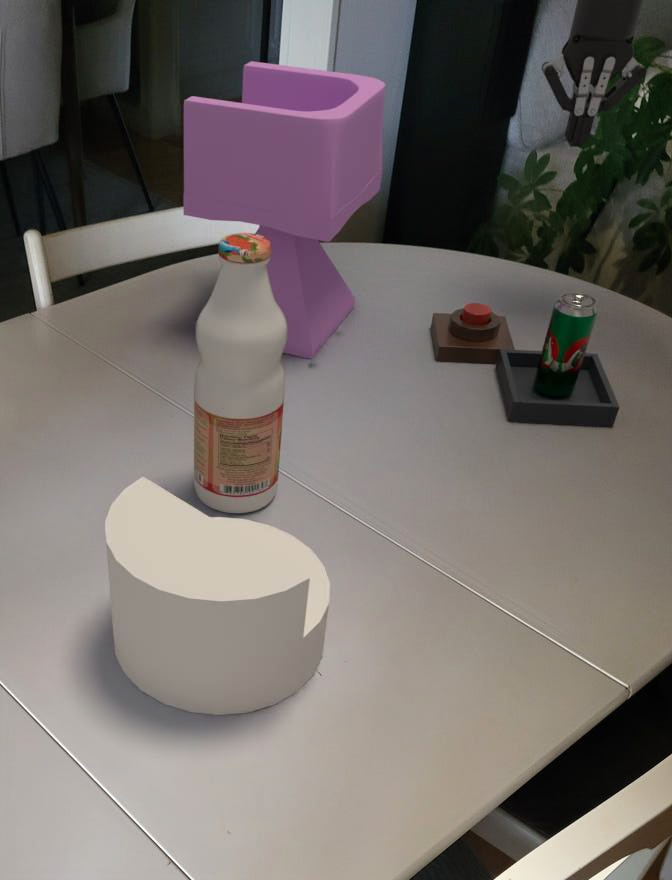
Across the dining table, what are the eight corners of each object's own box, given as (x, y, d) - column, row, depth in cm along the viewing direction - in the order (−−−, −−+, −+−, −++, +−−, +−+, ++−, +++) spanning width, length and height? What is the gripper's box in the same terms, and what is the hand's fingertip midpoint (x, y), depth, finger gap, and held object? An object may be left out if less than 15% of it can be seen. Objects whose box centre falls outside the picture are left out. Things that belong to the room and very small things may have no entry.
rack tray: (591, 372, 130) (597, 353, 128) (612, 427, 120) (619, 407, 118) (495, 368, 130) (499, 348, 129) (508, 421, 121) (513, 401, 119)
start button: (486, 315, 134) (489, 303, 133) (490, 327, 131) (492, 315, 130) (460, 314, 134) (462, 302, 133) (462, 326, 131) (465, 314, 130)
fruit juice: (176, 491, 110) (173, 242, 91) (233, 458, 115) (241, 215, 95) (237, 526, 105) (248, 271, 86) (294, 490, 110) (316, 241, 91)
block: (501, 330, 138) (508, 303, 136) (511, 364, 131) (518, 336, 128) (430, 327, 139) (435, 300, 136) (436, 361, 132) (441, 333, 129)
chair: (241, 280, 150) (249, 60, 130) (364, 306, 144) (394, 78, 123) (183, 334, 137) (183, 99, 117) (316, 365, 131) (340, 122, 110)
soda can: (575, 385, 126) (603, 295, 117) (569, 403, 122) (596, 312, 114) (536, 377, 127) (560, 287, 119) (528, 394, 124) (552, 304, 116)
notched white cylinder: (367, 637, 93) (386, 525, 83) (219, 751, 83) (222, 637, 73) (217, 544, 103) (219, 435, 94) (70, 635, 93) (56, 522, 84)
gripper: (562, -5, 114) (528, 153, 126) (678, -4, 113) (633, 155, 125) (550, -18, 120) (519, 135, 132) (661, -17, 119) (619, 136, 131)
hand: (575, 144), depth 128 cm, fingers closed
